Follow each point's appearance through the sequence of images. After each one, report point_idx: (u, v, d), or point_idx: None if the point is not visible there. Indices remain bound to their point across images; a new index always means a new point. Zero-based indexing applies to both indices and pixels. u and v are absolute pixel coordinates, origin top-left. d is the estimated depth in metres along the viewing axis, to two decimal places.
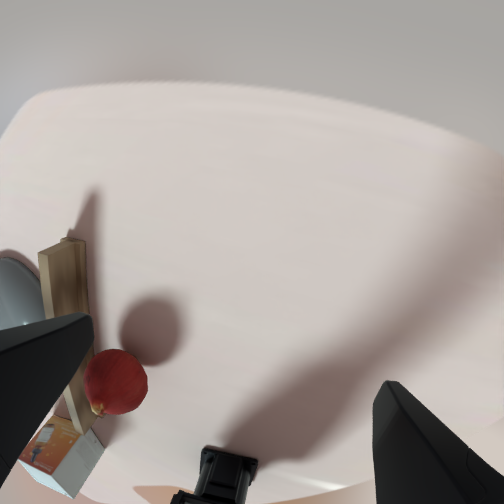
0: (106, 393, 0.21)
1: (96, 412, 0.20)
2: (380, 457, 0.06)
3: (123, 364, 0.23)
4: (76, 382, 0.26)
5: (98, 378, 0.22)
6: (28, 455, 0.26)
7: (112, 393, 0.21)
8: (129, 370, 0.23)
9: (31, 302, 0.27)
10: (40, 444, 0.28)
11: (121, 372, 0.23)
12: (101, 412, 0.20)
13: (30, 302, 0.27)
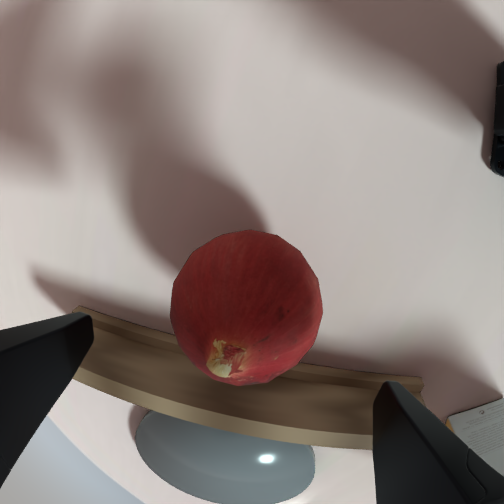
0: (195, 318, 0.09)
1: (219, 364, 0.08)
2: (380, 457, 0.06)
3: None
4: (294, 408, 0.14)
5: (176, 329, 0.10)
6: None
7: (199, 302, 0.09)
8: (191, 255, 0.12)
9: (181, 431, 0.19)
10: None
11: (182, 272, 0.11)
12: (227, 350, 0.08)
13: (182, 434, 0.19)
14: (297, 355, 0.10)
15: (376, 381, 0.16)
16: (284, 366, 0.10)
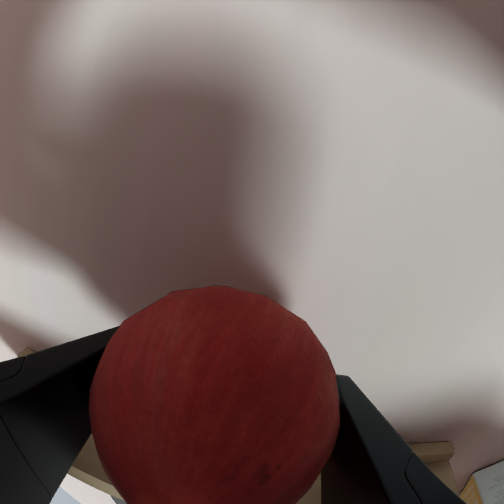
0: (113, 461, 0.04)
1: None
2: None
3: None
4: None
5: (98, 452, 0.05)
6: None
7: (114, 439, 0.04)
8: (117, 331, 0.06)
9: None
10: None
11: (100, 361, 0.06)
12: None
13: None
14: None
15: None
16: None
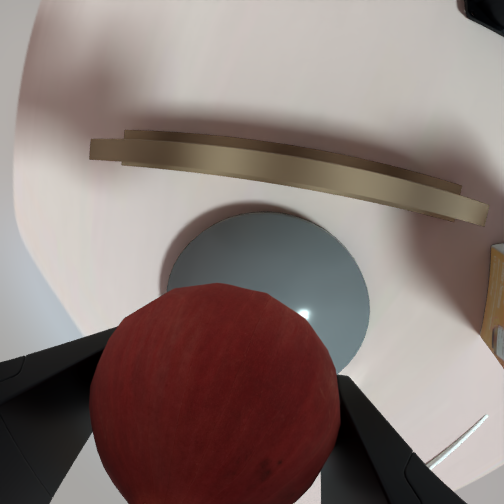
0: (113, 458, 0.04)
1: None
2: None
3: None
4: (351, 167, 0.15)
5: (98, 449, 0.05)
6: None
7: (115, 435, 0.04)
8: (117, 328, 0.06)
9: (223, 259, 0.20)
10: None
11: (101, 358, 0.06)
12: None
13: (224, 263, 0.20)
14: (294, 501, 0.05)
15: (418, 173, 0.17)
16: None
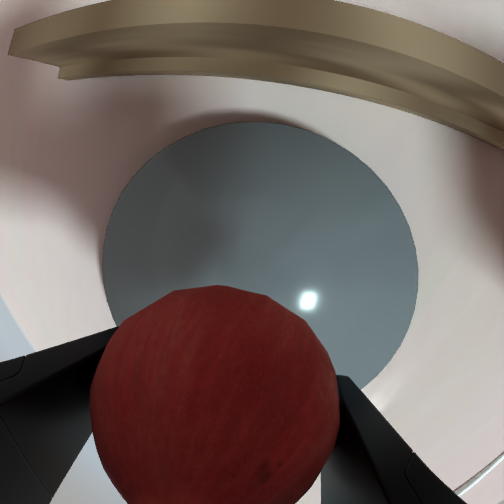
0: (113, 460, 0.04)
1: None
2: None
3: None
4: None
5: (98, 451, 0.05)
6: None
7: (115, 437, 0.04)
8: (117, 330, 0.06)
9: (184, 198, 0.12)
10: None
11: (101, 360, 0.06)
12: None
13: (186, 205, 0.12)
14: (294, 503, 0.05)
15: None
16: None
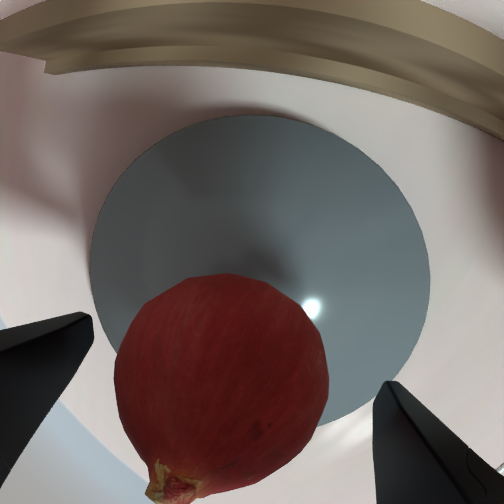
0: (134, 421, 0.06)
1: (159, 502, 0.04)
2: (380, 457, 0.06)
3: None
4: None
5: (120, 416, 0.07)
6: None
7: (136, 400, 0.06)
8: (139, 312, 0.08)
9: (175, 199, 0.11)
10: None
11: (125, 338, 0.07)
12: (170, 487, 0.04)
13: (177, 207, 0.11)
14: (285, 464, 0.06)
15: None
16: None
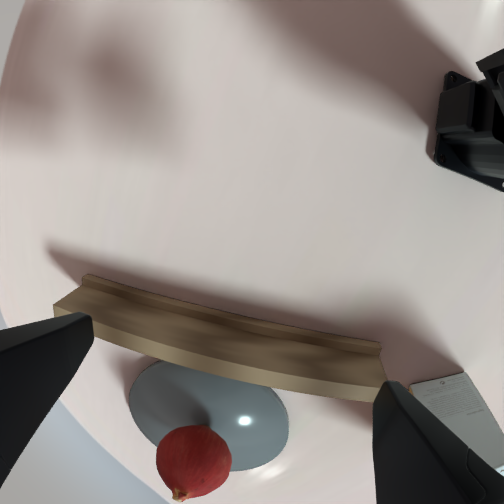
0: (167, 477, 0.17)
1: (176, 499, 0.16)
2: (380, 457, 0.06)
3: (160, 443, 0.20)
4: (264, 356, 0.18)
5: (159, 474, 0.18)
6: None
7: (168, 472, 0.17)
8: (164, 441, 0.19)
9: (170, 388, 0.23)
10: None
11: (160, 450, 0.19)
12: (179, 495, 0.16)
13: (171, 391, 0.23)
14: (214, 489, 0.18)
15: (337, 341, 0.20)
16: None
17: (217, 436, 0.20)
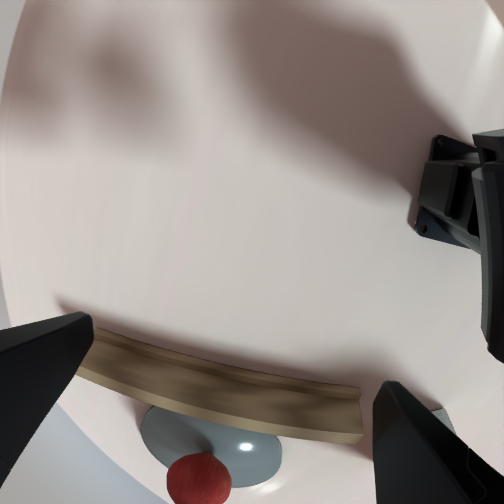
0: (176, 498, 0.19)
1: None
2: (380, 457, 0.06)
3: (169, 470, 0.22)
4: (254, 406, 0.20)
5: (170, 495, 0.20)
6: None
7: (177, 494, 0.19)
8: (172, 469, 0.21)
9: (176, 422, 0.25)
10: None
11: (169, 476, 0.21)
12: None
13: (177, 424, 0.25)
14: None
15: (320, 389, 0.22)
16: None
17: (218, 463, 0.22)
